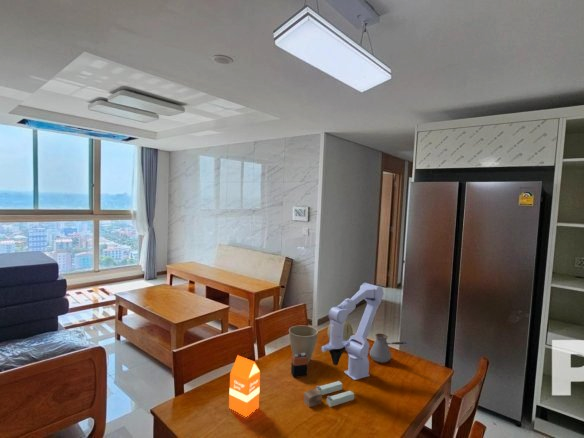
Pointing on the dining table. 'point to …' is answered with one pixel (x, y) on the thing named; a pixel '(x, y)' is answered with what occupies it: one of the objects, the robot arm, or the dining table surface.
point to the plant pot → (303, 340)
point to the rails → (335, 398)
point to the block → (312, 397)
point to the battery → (299, 365)
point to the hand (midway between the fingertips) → (335, 364)
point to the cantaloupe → (346, 331)
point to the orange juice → (244, 386)
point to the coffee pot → (382, 348)
